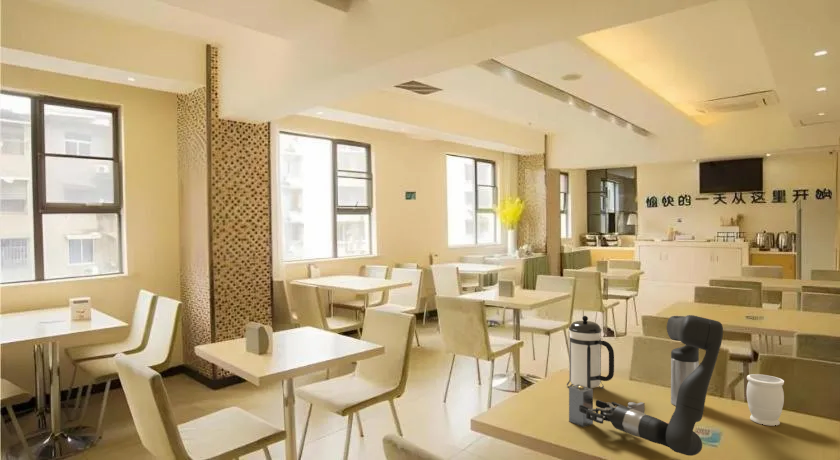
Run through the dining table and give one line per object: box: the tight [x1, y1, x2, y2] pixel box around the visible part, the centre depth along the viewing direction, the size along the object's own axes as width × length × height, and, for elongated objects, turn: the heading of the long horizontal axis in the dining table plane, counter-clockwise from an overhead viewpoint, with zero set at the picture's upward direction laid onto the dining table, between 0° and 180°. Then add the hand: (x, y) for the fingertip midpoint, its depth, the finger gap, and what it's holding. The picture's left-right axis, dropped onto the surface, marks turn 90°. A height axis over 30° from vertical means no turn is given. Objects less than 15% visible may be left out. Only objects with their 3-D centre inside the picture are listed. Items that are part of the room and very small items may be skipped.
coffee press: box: [566, 315, 615, 389], centre depth 206 cm, size 17×16×30 cm
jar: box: [746, 373, 785, 427], centre depth 172 cm, size 11×10×15 cm
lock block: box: [568, 385, 594, 428], centre depth 171 cm, size 5×6×13 cm
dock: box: [627, 401, 669, 423], centre depth 168 cm, size 12×13×6 cm
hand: (588, 405), depth 169 cm, fingers open, 8 cm apart
